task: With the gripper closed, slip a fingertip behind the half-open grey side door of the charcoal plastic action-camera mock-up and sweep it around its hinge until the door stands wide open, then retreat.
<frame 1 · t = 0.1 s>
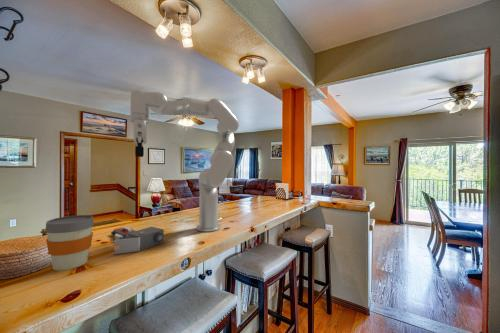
hand: (139, 156, 99), 37 cm above the table, tool pointing down, fingers open, 9 cm apart
reusable coffee cup: (70, 264, 73), on the table
walkie-talkie: (126, 239, 99), on the table
side door: (127, 245, 82), point 3 cm above the table, hinge at 50.0°
camera body: (146, 244, 91), on the table
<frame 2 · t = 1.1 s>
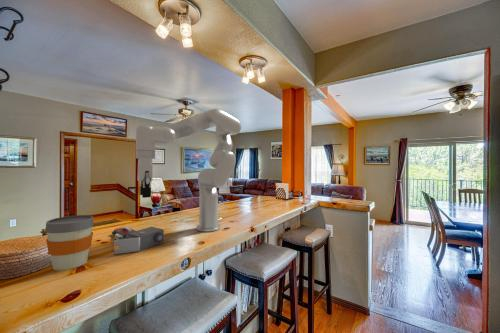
hand: (145, 195, 93), 20 cm above the table, tool pointing down, fingers open, 8 cm apart
nothing on the table moved.
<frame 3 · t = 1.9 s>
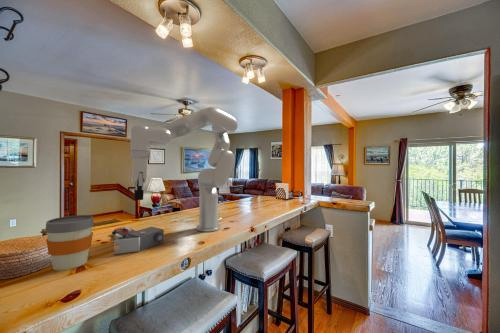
hand: (138, 199, 91), 19 cm above the table, tool pointing down, fingers closed
nothing on the table moved.
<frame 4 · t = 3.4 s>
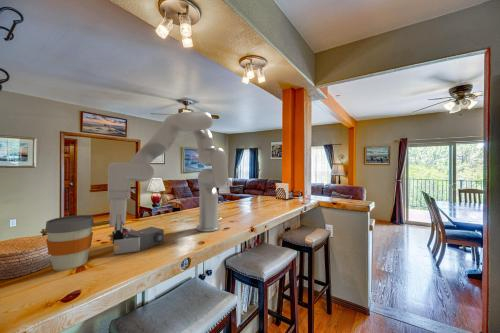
hand: (117, 242, 83), 3 cm above the table, tool pointing down, fingers closed
side door: (127, 245, 82), point 3 cm above the table, hinge at 50.0°, touching gripper
everything else where it was.
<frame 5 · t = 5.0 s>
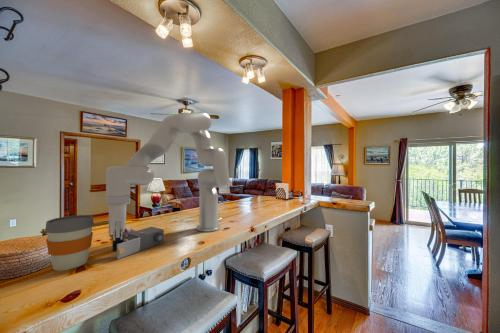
hand: (117, 250, 79), 2 cm above the table, tool pointing down, fingers closed
side door: (129, 247, 80), point 3 cm above the table, hinge at 90.4°, touching gripper
everything else where it was.
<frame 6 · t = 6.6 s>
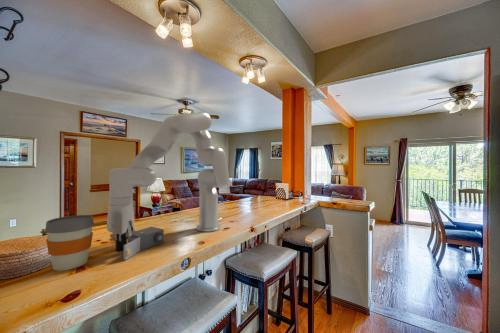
hand: (121, 250, 81), 1 cm above the table, tool pointing down, fingers closed
side door: (133, 248, 80), point 3 cm above the table, hinge at 112.8°
everything else where it was.
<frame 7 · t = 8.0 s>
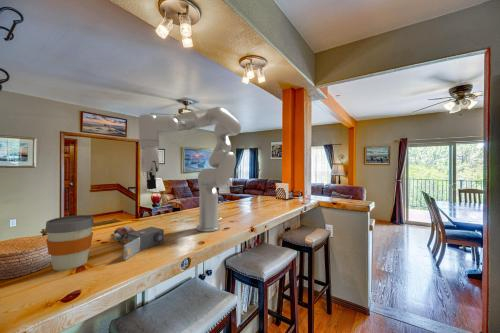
hand: (151, 188, 91), 23 cm above the table, tool pointing down, fingers closed
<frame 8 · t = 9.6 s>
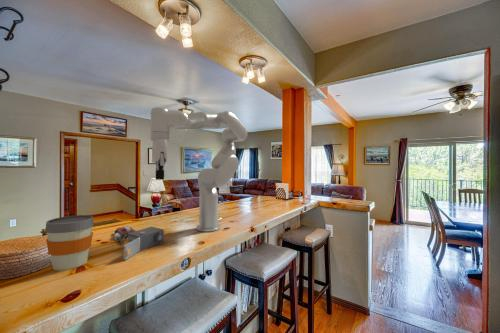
hand: (159, 179, 95), 27 cm above the table, tool pointing down, fingers closed
at the end: side door at +113° (first picture: +50°) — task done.
